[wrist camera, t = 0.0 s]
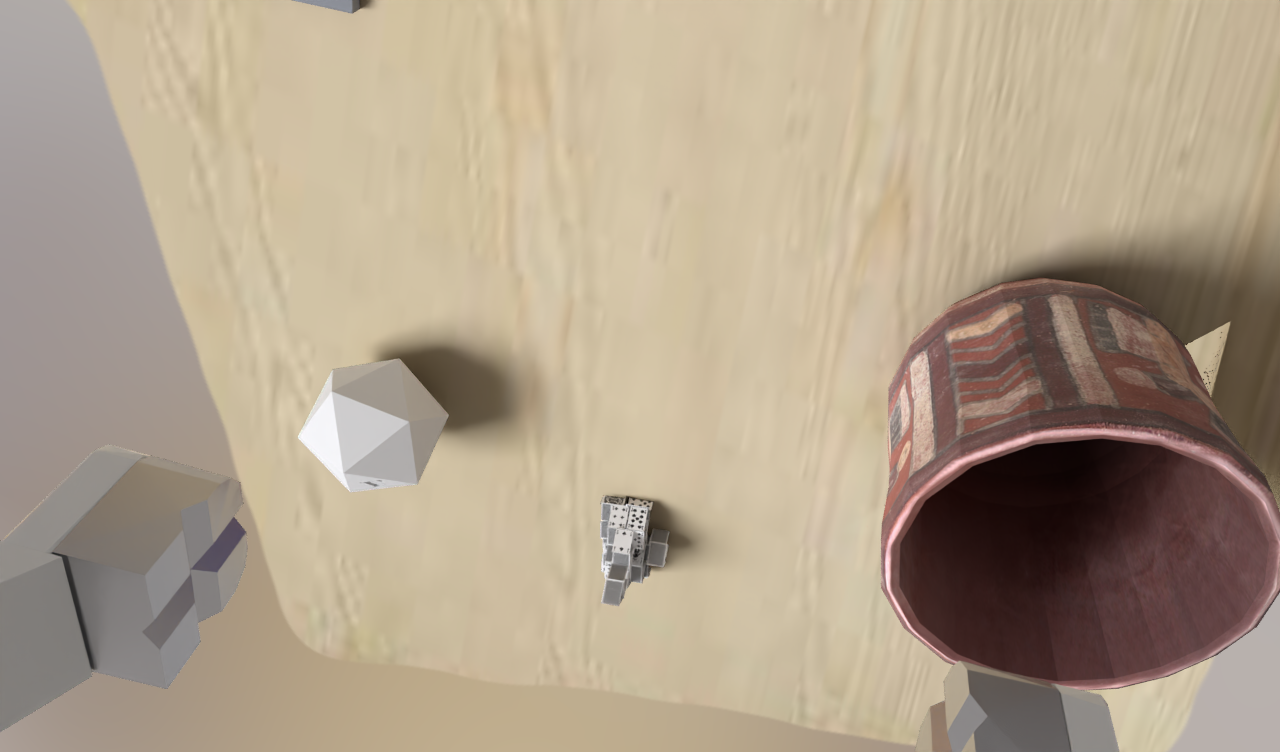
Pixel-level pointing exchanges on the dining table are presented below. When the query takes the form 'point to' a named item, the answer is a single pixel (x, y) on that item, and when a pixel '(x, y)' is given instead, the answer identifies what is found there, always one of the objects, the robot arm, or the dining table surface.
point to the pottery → (1069, 493)
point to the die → (374, 426)
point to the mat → (335, 4)
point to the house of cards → (628, 545)
